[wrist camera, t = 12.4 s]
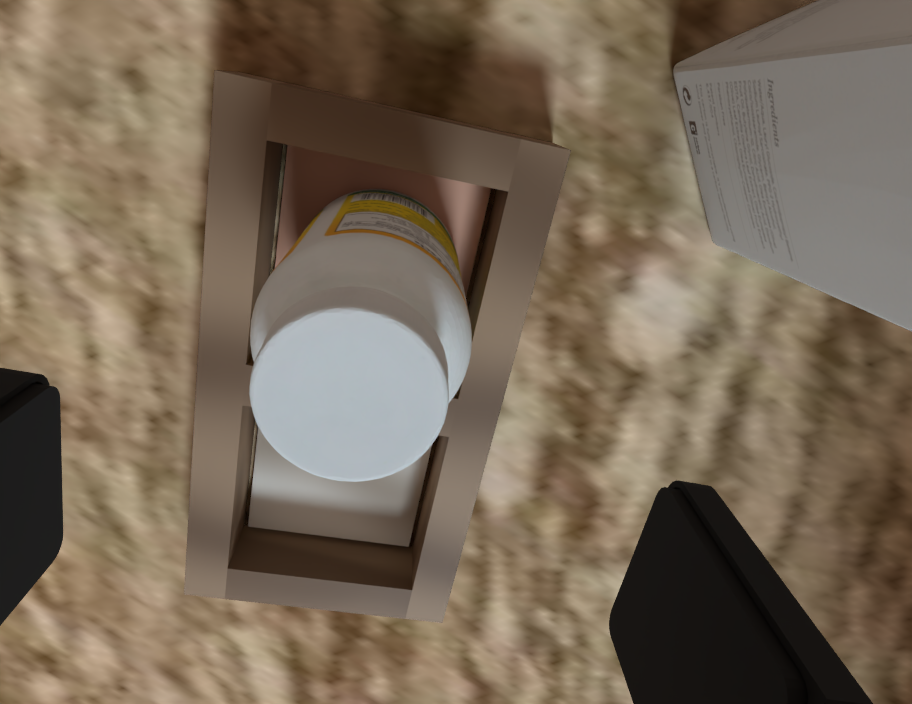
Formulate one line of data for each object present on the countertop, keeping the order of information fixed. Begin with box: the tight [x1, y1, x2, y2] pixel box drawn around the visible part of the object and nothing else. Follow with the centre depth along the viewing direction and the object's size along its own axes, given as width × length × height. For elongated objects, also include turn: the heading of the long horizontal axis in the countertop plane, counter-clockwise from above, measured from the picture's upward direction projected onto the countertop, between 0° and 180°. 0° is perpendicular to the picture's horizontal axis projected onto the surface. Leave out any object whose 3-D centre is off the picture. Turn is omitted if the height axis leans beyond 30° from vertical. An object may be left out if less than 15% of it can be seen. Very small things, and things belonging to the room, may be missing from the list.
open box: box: [184, 70, 571, 623], centre depth 22 cm, size 18×10×2 cm, turn 168°
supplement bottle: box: [249, 189, 472, 482], centre depth 17 cm, size 5×5×10 cm
